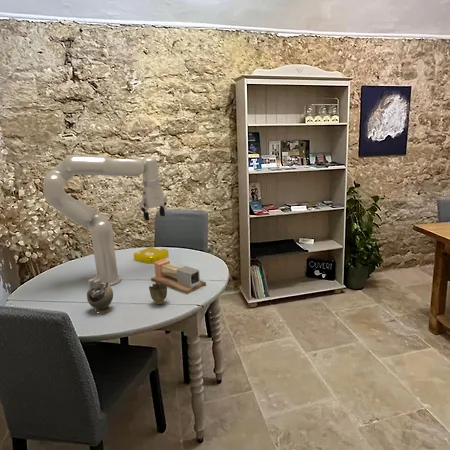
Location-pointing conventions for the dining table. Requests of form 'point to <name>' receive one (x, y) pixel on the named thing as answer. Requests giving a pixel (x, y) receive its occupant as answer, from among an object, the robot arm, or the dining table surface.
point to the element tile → (151, 255)
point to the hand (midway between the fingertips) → (154, 217)
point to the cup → (158, 292)
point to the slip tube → (169, 270)
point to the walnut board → (176, 284)
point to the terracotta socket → (158, 267)
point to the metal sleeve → (188, 277)
